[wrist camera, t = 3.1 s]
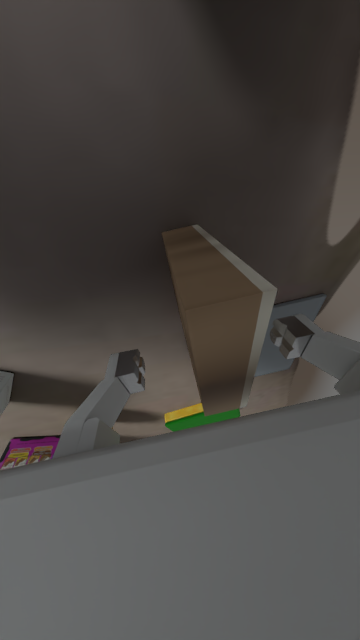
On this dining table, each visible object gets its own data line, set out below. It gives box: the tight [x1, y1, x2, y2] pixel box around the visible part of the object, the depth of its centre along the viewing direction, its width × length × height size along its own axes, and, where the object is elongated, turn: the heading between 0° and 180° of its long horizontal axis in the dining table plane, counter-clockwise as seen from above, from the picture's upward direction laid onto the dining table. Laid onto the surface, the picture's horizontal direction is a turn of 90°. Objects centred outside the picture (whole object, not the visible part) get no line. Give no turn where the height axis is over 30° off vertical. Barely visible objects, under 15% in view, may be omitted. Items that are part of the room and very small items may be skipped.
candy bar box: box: [0, 436, 61, 470], centre depth 24 cm, size 11×5×16 cm, turn 68°
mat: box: [254, 294, 326, 377], centre depth 21 cm, size 14×14×1 cm
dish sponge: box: [165, 403, 240, 432], centre depth 32 cm, size 7×14×2 cm, turn 108°
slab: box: [162, 224, 278, 416], centre depth 10 cm, size 8×2×9 cm, turn 10°
